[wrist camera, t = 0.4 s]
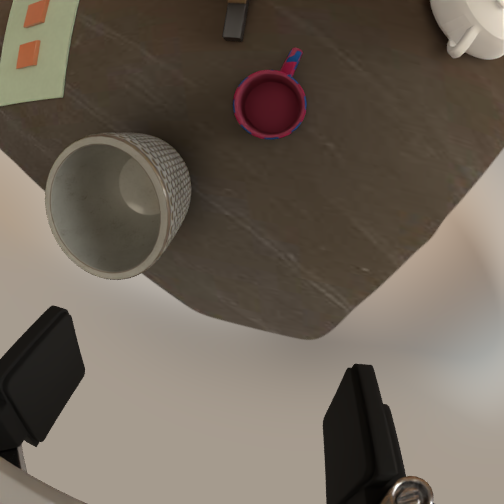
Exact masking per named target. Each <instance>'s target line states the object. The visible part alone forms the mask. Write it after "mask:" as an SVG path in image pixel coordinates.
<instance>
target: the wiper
mask: <svg viewBox="0 0 504 504" xmlns="http://www.w3.org/2000/svg"><path fill="white" fill-rule="evenodd" d="M227 1H228V7H227V13H226V19H225V24H224V30H223V36H222V37H223V38H224V39H225V41H239V42H242V41H243V35H244V29H245V22H246V16H247V10H248V5H249V0H227Z"/></svg>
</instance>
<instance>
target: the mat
mask: <svg viewBox="0 0 504 504" xmlns="http://www.w3.org/2000/svg"><path fill="white" fill-rule="evenodd" d="M38 1H41V0H13V4H12V7H11V11H10V15H9V19H8V24H7V28H6V33H5V38H4V43H3V48H2V54H1V61H0V106H4V105H10V104H16V103H22V102H29V101H36V100H44V99H52V98H61V97H63V95H64V85H65V76H66V68H67V61H68V55H69V48H70V43H71V37H72V32H73V27H74V22H75V17H76V13H77V9H78V4H79V0H50V1H49V5H48V9H47V13H46V18H45V22H44V23H41V24H38V25H35V26H32V27H29V28H24V27H23V26H24V22H25V17H26V13H27V9H28V5H30V4H33V3H36V2H38ZM35 40H40V41H41V42H40V48H39V54H38V60H37V65H36V66H32V67H27V68H23V69H16V66H17V59H18V53H19V47H20V45H22V44H25V43H28V42H31V41H35Z"/></svg>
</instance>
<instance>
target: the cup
mask: <svg viewBox="0 0 504 504" xmlns="http://www.w3.org/2000/svg"><path fill="white" fill-rule="evenodd" d="M302 54H303V52H302V50H300V49H299V48H295V47H294V48H292V49H291V51H290V52H289V54H288V56H287V58H286V60H285V62H284V64H283V66H282V68H281V70H280V71H276V70H262V71H258V72H255V73H253V74H251V75H249V76H248V77H246V78H245V79H244V80H243V81H242V82H241V83H240V84H239V86H238V88H237V89H236V92H235V95H234V99H233V110H234V114H235V117H236V119H237V121H238V122H239V124H240V125H241V126H242V128H243V129H244V130H246V131H247V132H248V133H250V134H252V135H253V136H256V137H258V138H262V139H278V138H282V137H285V136H287V135H289V134H291V133H292V132H293V131H295V130H296V129H297V128H298V126H299V125H300V124H301V122H302V121H303V119H304V116H305V113H306V97H305V94H304V91H303V89H302V88H301V86H300V84H299V83H298V82H297V81H296V80H295V79H294V78H292V76H293V74H294V72H295V69H296V67H297V65H298V63H299V61H300V58H301V56H302Z"/></svg>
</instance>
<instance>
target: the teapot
mask: <svg viewBox="0 0 504 504" xmlns="http://www.w3.org/2000/svg"><path fill="white" fill-rule="evenodd" d="M430 4H431V9H432V12H433V15H434V17H435V19H436V21H437V23H438V25H439V27H440V28H441V30H442V31H443V33H444V34H445V36H446V37H447V38H448V39H449V41H448V43H447V52H448V54H449V55H450V56H451V57H452V58H458V57H460V56H461V55H462V54H464V53H465V52H466V53H467V54H469V55H471V56H474V57H477V58H480V59H487V60H490V59H496V58H499V57H501V56H503V55H504V0H430Z"/></svg>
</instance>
